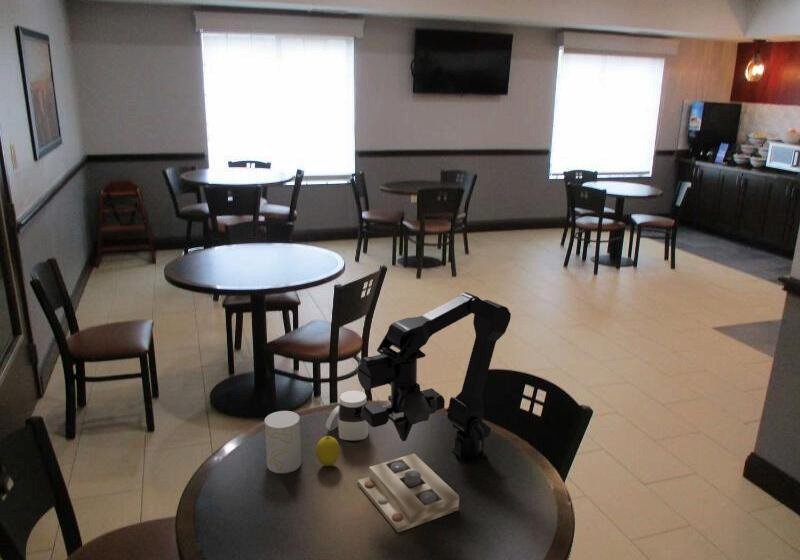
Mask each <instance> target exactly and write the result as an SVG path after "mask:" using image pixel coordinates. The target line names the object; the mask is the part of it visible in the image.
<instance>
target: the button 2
mask: <svg viewBox="0 0 800 560" xmlns="http://www.w3.org/2000/svg"><path fill="white" fill-rule="evenodd" d="M420 501H421V502H422V503H423V504H424V505H428V504H431V503H434V502H436V495H435V494H434V493H432V492H423V493H421V494H420Z"/></svg>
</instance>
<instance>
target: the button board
mask: <svg viewBox="0 0 800 560" xmlns="http://www.w3.org/2000/svg"><path fill="white" fill-rule="evenodd" d="M395 462H402V463H404V464H405V465H406V470H405V471H402V472H399V473H396V474H394V473H393V472H392V471H391V464H392V463H395ZM368 468H369V470H368V474H369V476H367V477H363V478H360V479H357V485H358V486H359V487H360V489H361V490H362V491H363V492H364V494H365V495H366V496H367V497H368V499H370V501H371V502H372V504H373V505H374V506H375V507H376V508H377V509H378V511H380V513H381V514H382V515H383V517H384V518H385V519H386V520H387V522H388V523H389V524H390V525H391V526H392V527H393V528H394V530H395V531H396V533H401V532H403V531H406V530H409V529H411V528H414V527H417V526H420V525H423V524H426V523H428V522H430V521H433V520H436V519H438V518H441V517H444V516H446V515H449V514H452V513H454V511H455V512H457V511H459V510H460V496H459V494H458V493H457V492H455V491H454V490H453V489H452V488H451V487H450V486H449V485H448V484H447V483H446V482H445V481H444V480H443V479H442V478H441V477H440V476H439V475H437V473H435V472H434V470H433V469H431V468H430V467H429V466H428V465H427V464H426V463H425V462H424V461H423V460H422V459H421V458H419V456H417V454H416V453H411V454H407V455H404V456H401V457H398V458H394V459H390V460H387V461H383V462H380V463H378V464H375V465H372V466H369V467H368ZM411 470H414V471H418V472H419V473H420V474H421V485H420V486H417V487H414V488H408V487H407V486H406V485H405V484H404V480H405V473H406V472H407V471H411ZM423 492H432V493H434V494H435V495H436V502H434V503H431V504H428V505H424V504H423V503H422V502H421V501H420V494H421V493H423Z"/></svg>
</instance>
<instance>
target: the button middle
mask: <svg viewBox="0 0 800 560" xmlns="http://www.w3.org/2000/svg"><path fill="white" fill-rule="evenodd" d="M404 484H405V485H406V486H407V487H408V488H414V487H417V486H420V485H421V474H420V473H419V472H418V471H414V470H411V471H407V472H406V473H405V480H404Z"/></svg>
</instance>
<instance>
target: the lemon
mask: <svg viewBox="0 0 800 560" xmlns="http://www.w3.org/2000/svg"><path fill="white" fill-rule="evenodd" d="M340 449H341V448H340V445H339V442H338V440H337V439H336V438H335V437H333V436H330V435H327V436H324V437H322V438H321V439H320V440H319V441H318V442H317V445H316V457H317V460H318V463H321V465H324V466H326V467H329V466H331V465H334V464H335V463H336V462H337V461H338V459H339V457H340V451H341V450H340Z"/></svg>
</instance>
